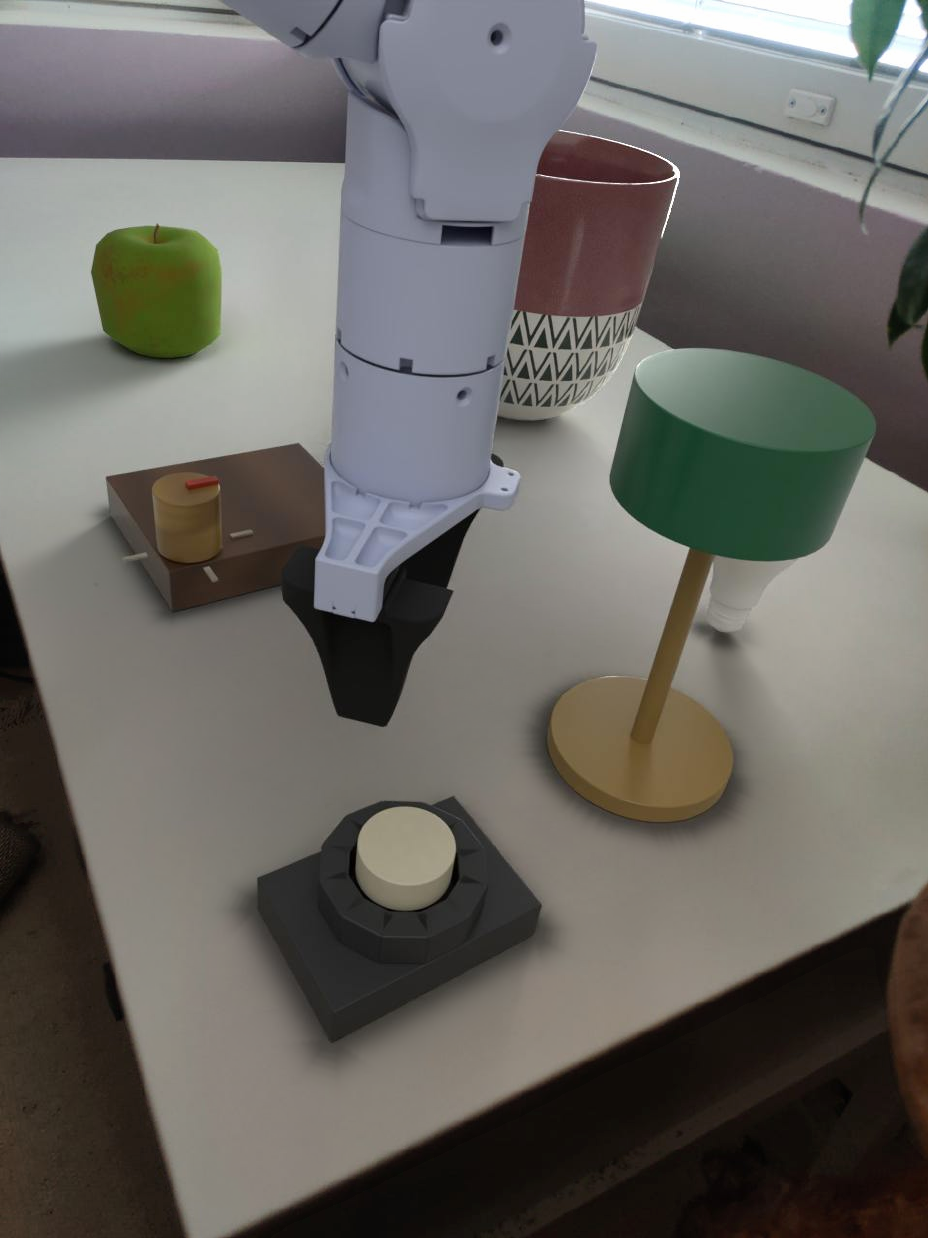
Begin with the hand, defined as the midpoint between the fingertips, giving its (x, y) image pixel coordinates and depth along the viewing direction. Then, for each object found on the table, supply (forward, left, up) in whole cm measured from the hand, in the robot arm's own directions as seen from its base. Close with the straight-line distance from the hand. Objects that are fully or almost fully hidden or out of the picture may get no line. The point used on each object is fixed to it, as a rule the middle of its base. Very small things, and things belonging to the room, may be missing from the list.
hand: (391, 656), depth 39 cm
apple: (+10, +59, -10) cm, 61 cm away
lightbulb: (+28, +3, -10) cm, 30 cm away
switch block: (-2, -6, -10) cm, 12 cm away
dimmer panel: (+3, +24, -10) cm, 27 cm away
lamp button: (-2, -6, -7) cm, 9 cm away
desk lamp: (+15, -3, -10) cm, 18 cm away
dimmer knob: (-1, +21, -7) cm, 23 cm away
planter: (+35, +36, -10) cm, 52 cm away
